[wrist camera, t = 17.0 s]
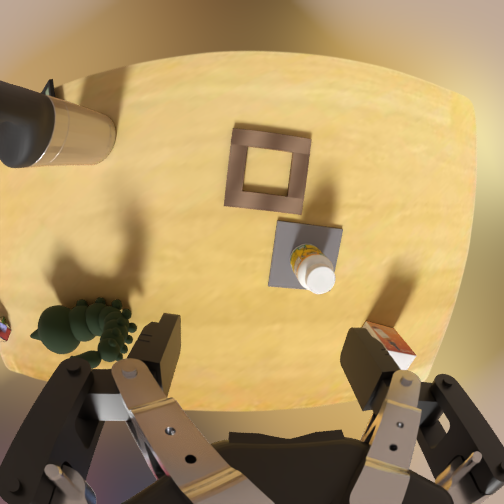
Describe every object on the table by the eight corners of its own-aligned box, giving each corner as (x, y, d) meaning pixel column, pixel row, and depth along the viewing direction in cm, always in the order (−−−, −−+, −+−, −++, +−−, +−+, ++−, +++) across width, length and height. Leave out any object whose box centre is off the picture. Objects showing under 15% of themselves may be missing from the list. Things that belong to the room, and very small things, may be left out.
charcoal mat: (268, 285, 46) (268, 286, 46) (277, 220, 43) (277, 221, 43) (329, 289, 47) (330, 291, 46) (341, 229, 44) (342, 229, 43)
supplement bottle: (285, 270, 45) (296, 294, 36) (294, 239, 44) (308, 257, 34) (315, 277, 45) (332, 302, 36) (325, 247, 44) (345, 266, 35)
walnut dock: (224, 205, 42) (223, 205, 41) (233, 129, 39) (232, 128, 38) (300, 214, 43) (301, 214, 42) (309, 140, 40) (311, 139, 39)
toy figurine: (135, 281, 47) (40, 298, 45) (98, 335, 29) (-8, 342, 27) (150, 324, 50) (56, 336, 48) (126, 390, 31) (17, 386, 30)
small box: (393, 327, 50) (417, 355, 40) (380, 348, 52) (401, 378, 41) (365, 319, 49) (388, 349, 39) (352, 342, 51) (371, 374, 40)
